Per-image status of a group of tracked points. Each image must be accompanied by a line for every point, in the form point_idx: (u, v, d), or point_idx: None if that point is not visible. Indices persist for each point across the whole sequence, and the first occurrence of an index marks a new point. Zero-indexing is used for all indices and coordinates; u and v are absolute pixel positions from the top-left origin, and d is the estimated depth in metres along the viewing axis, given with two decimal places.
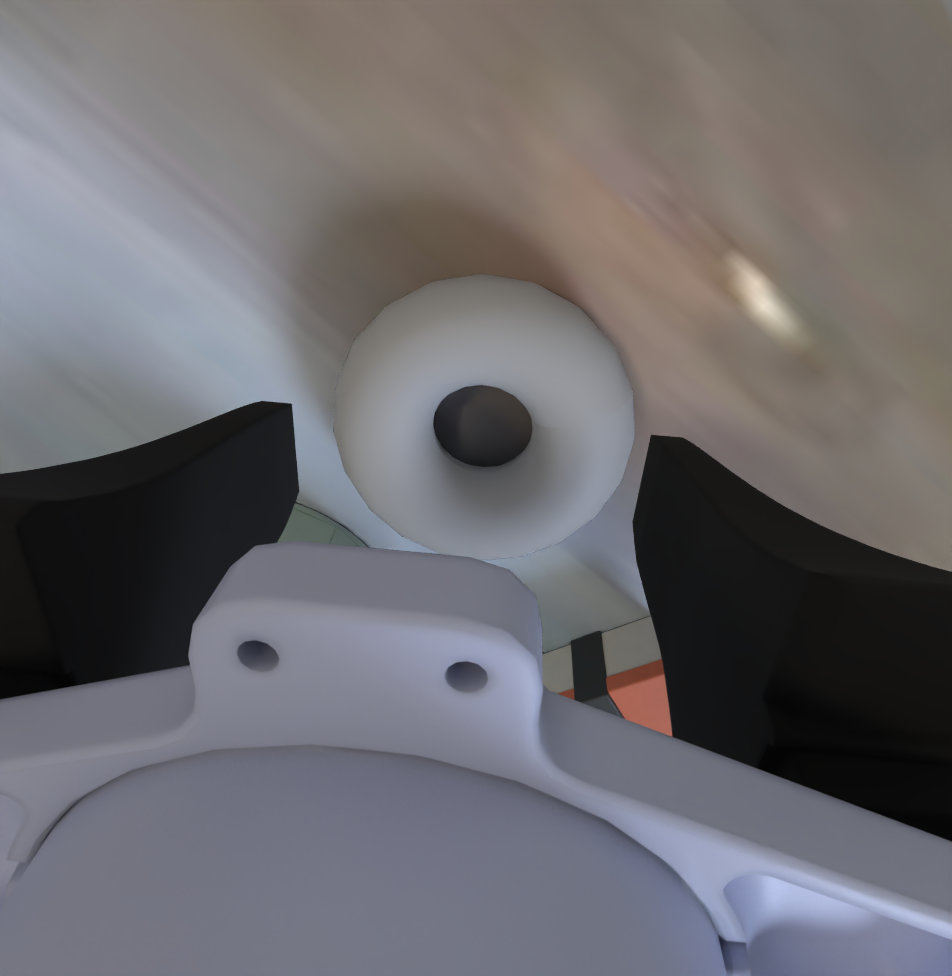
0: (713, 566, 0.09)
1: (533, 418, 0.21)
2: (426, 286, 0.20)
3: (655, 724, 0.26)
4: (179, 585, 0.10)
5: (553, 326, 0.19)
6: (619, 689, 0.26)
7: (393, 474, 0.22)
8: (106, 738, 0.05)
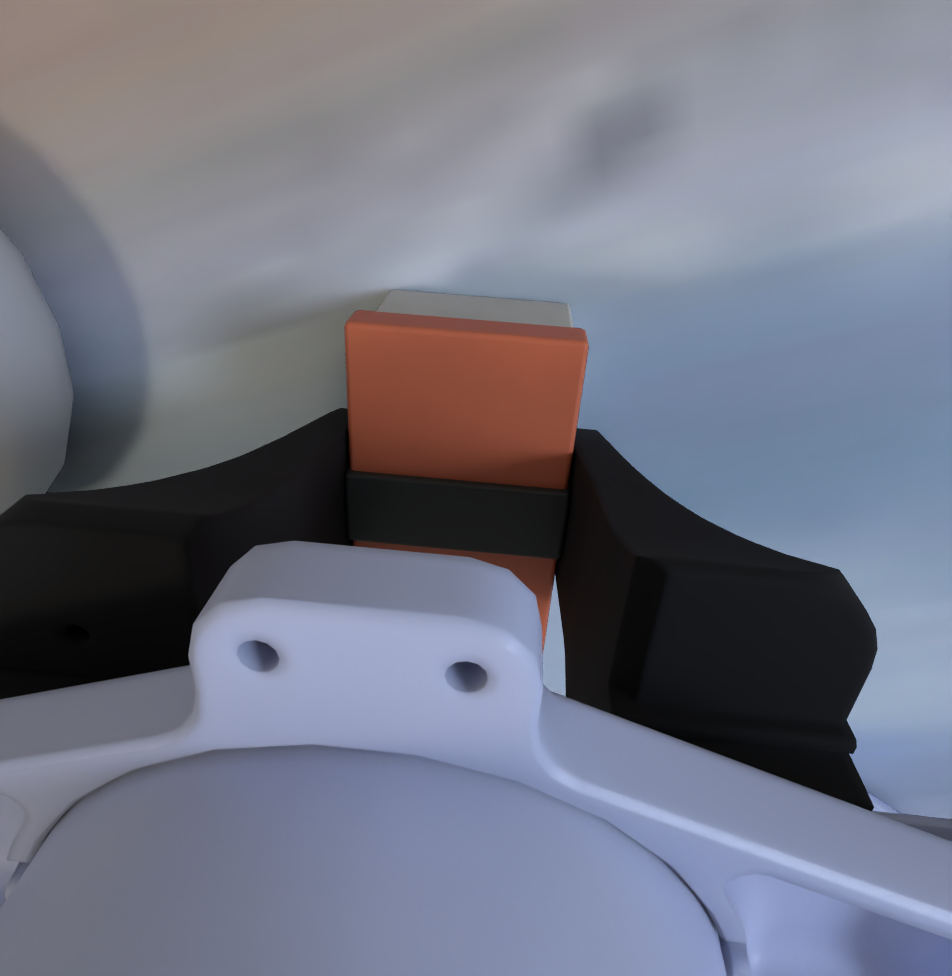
0: (593, 555, 0.09)
1: None
2: None
3: (490, 433, 0.11)
4: None
5: None
6: (356, 447, 0.12)
7: None
8: (105, 738, 0.05)
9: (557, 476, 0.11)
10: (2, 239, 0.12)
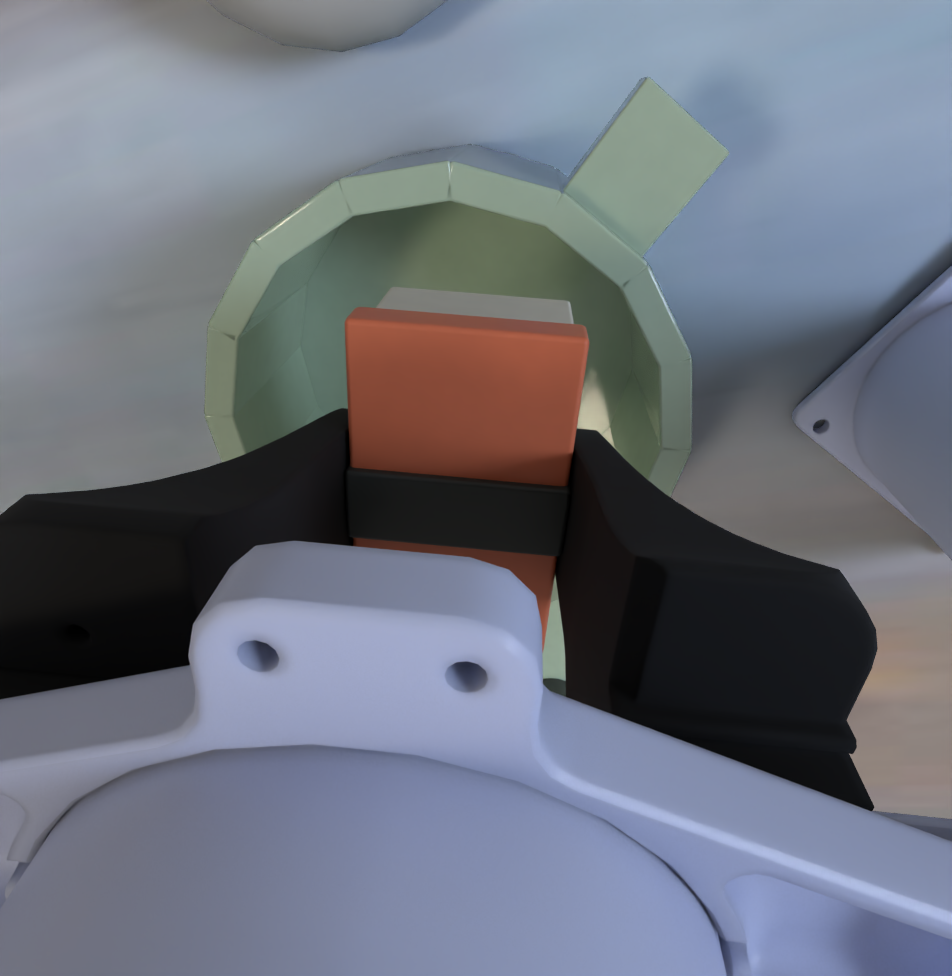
0: (592, 555, 0.09)
1: None
2: None
3: (490, 430, 0.11)
4: None
5: None
6: (356, 444, 0.11)
7: None
8: (105, 738, 0.05)
9: (557, 473, 0.11)
10: None
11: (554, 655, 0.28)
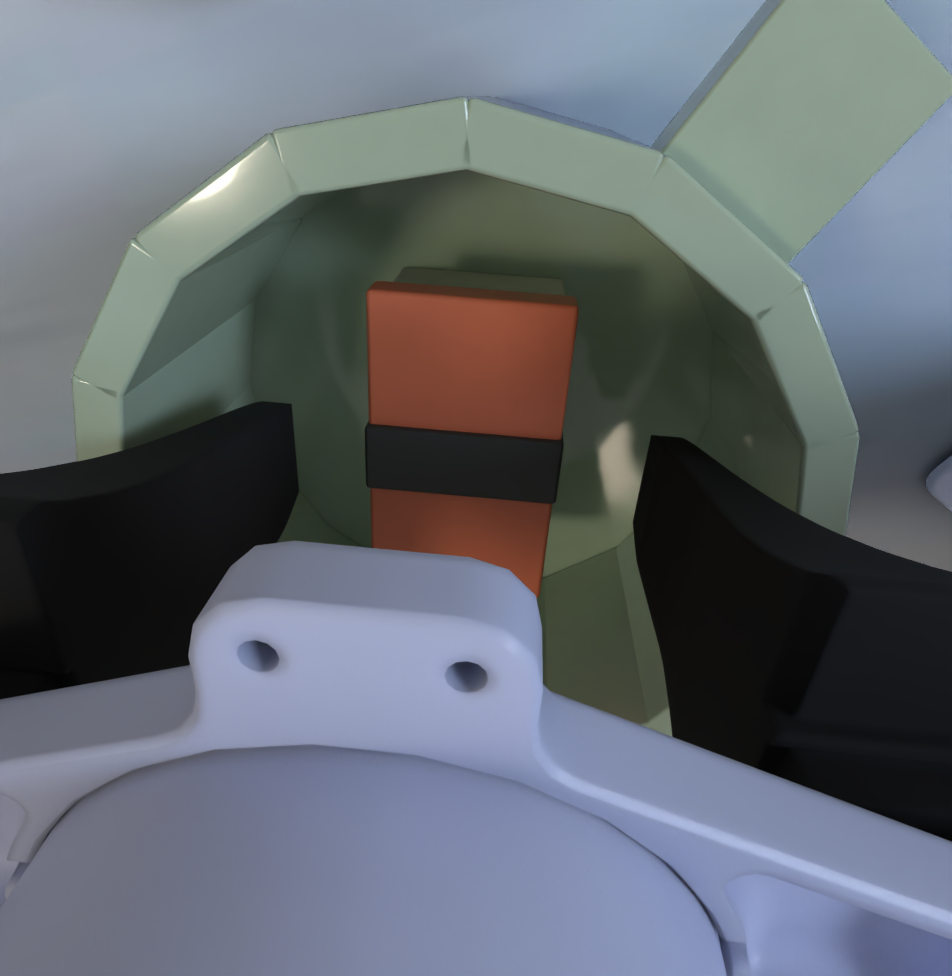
0: (713, 566, 0.09)
1: None
2: None
3: (493, 389, 0.13)
4: (179, 585, 0.10)
5: None
6: (374, 402, 0.13)
7: None
8: (105, 738, 0.05)
9: (552, 428, 0.13)
10: None
11: None
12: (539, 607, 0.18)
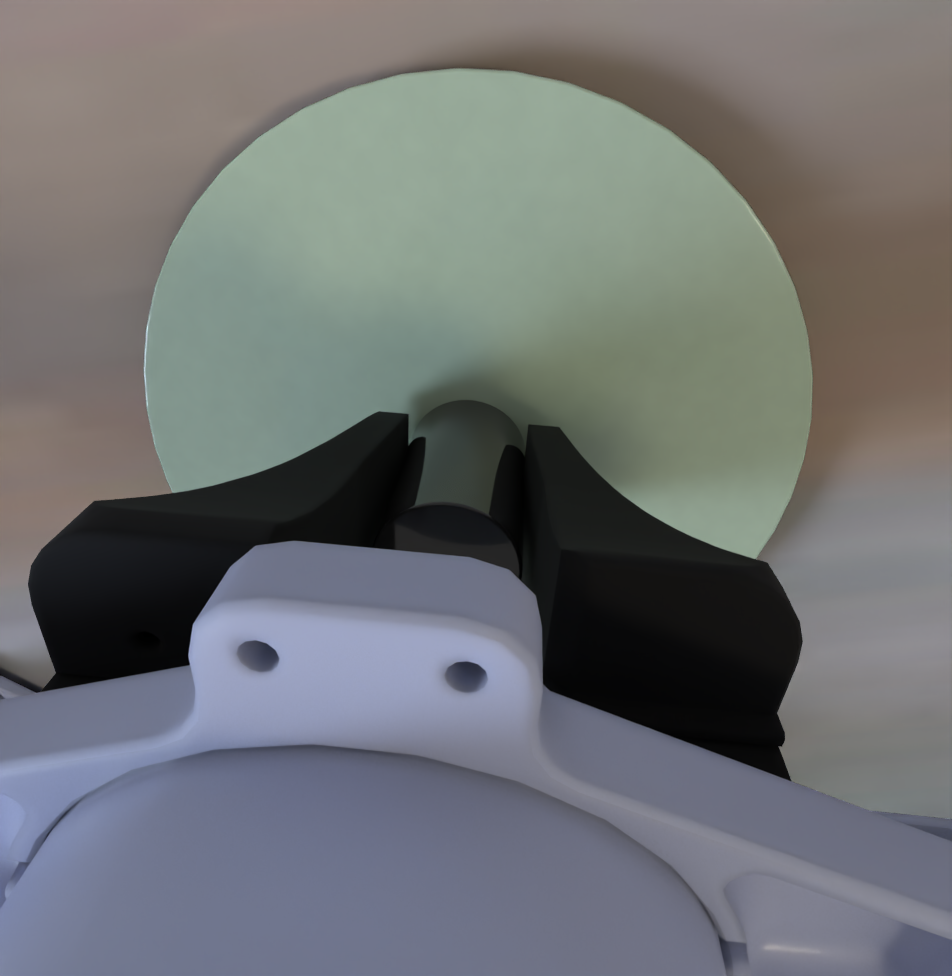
0: (540, 550, 0.09)
1: None
2: None
3: None
4: None
5: None
6: None
7: None
8: (106, 738, 0.05)
9: None
10: None
11: None
12: None
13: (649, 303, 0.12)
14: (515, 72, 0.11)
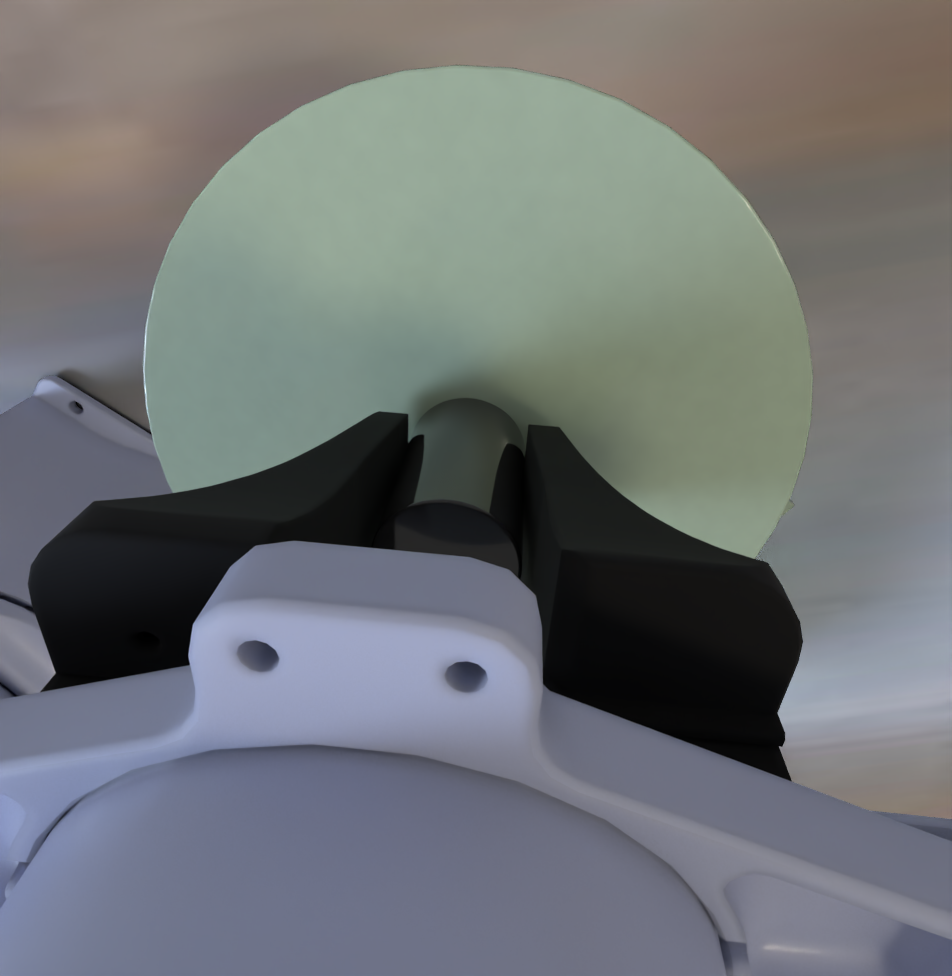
0: (541, 550, 0.09)
1: None
2: None
3: None
4: None
5: None
6: None
7: None
8: (106, 738, 0.05)
9: None
10: None
11: None
12: None
13: (649, 301, 0.12)
14: (515, 69, 0.11)
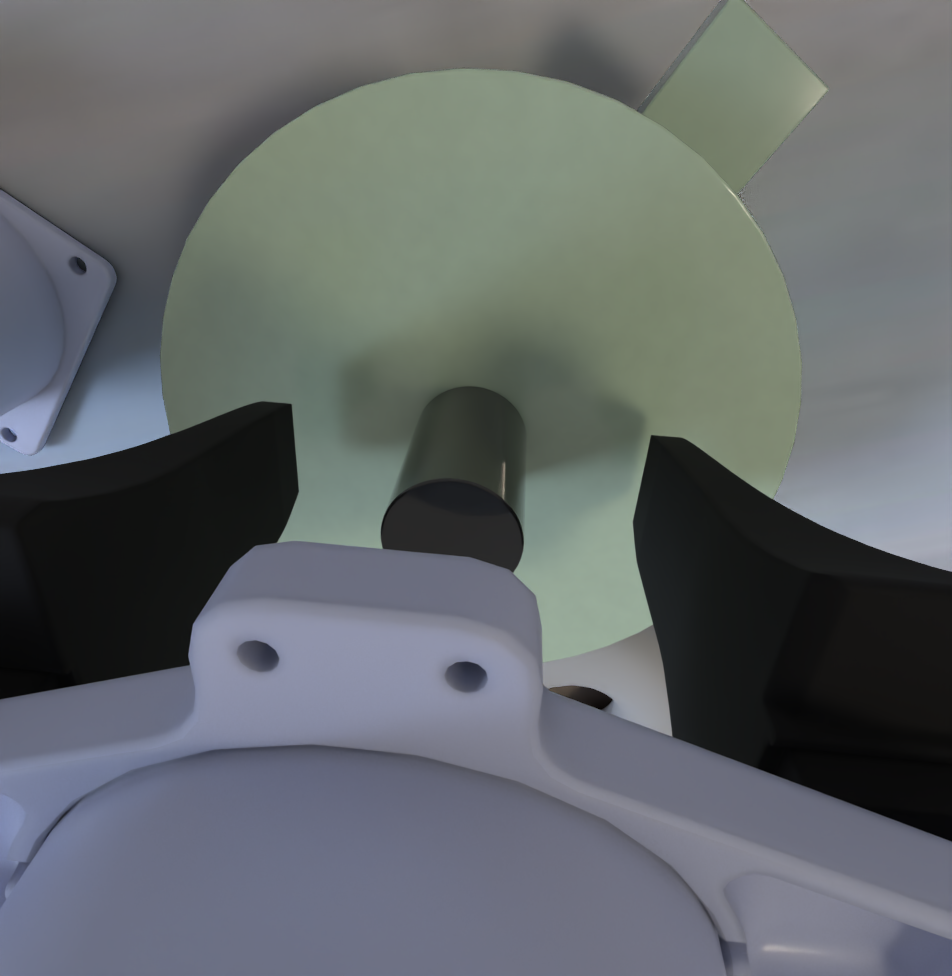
0: (713, 566, 0.09)
1: None
2: None
3: None
4: (179, 585, 0.10)
5: None
6: None
7: (597, 681, 0.23)
8: (106, 738, 0.05)
9: None
10: None
11: None
12: None
13: (645, 292, 0.13)
14: (517, 72, 0.11)
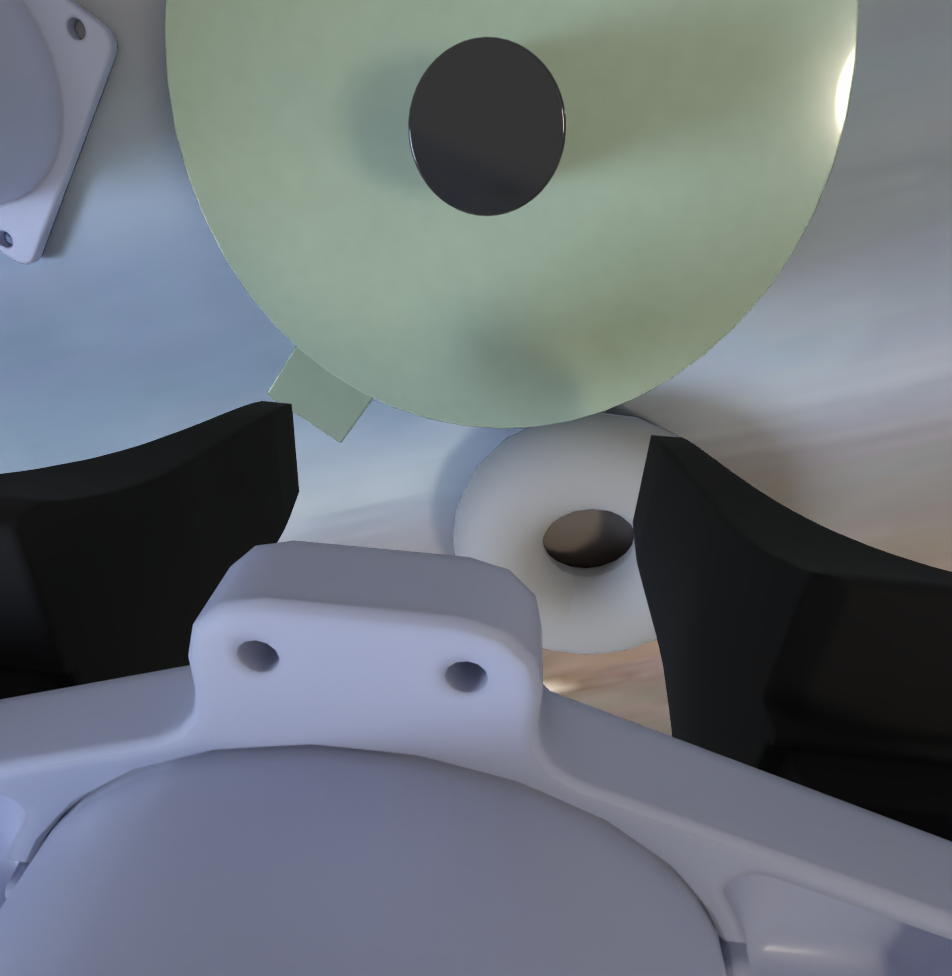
0: (713, 566, 0.09)
1: (577, 591, 0.25)
2: None
3: None
4: (179, 585, 0.10)
5: (637, 645, 0.26)
6: None
7: (620, 497, 0.22)
8: (106, 738, 0.05)
9: None
10: None
11: (497, 250, 0.15)
12: None
13: None
14: None
